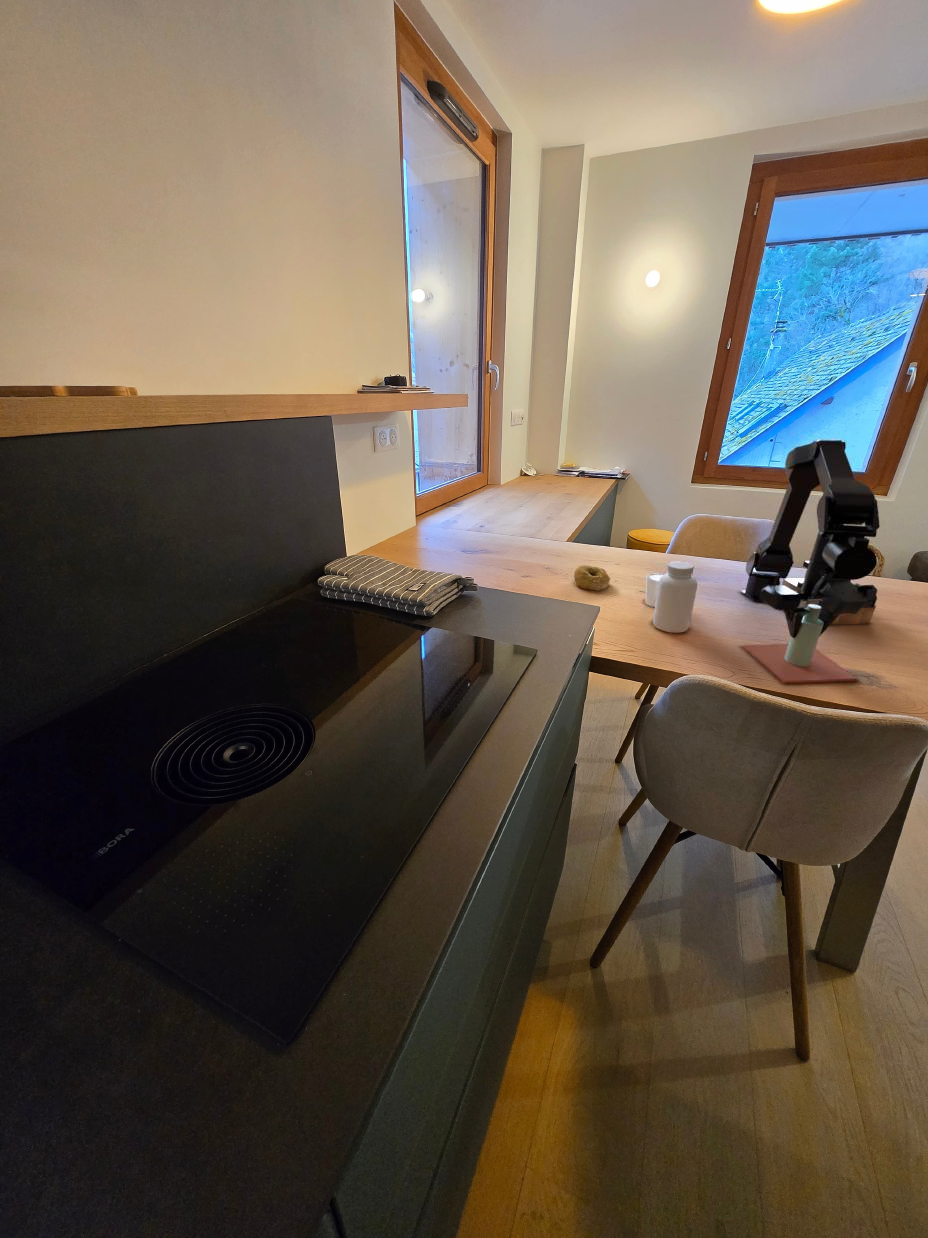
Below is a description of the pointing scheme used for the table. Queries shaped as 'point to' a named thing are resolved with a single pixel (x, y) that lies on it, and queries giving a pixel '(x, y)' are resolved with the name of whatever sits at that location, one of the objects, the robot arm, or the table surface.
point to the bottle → (805, 638)
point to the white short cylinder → (652, 588)
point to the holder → (859, 618)
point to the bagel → (591, 577)
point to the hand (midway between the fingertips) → (804, 636)
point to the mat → (789, 673)
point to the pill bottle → (675, 598)
